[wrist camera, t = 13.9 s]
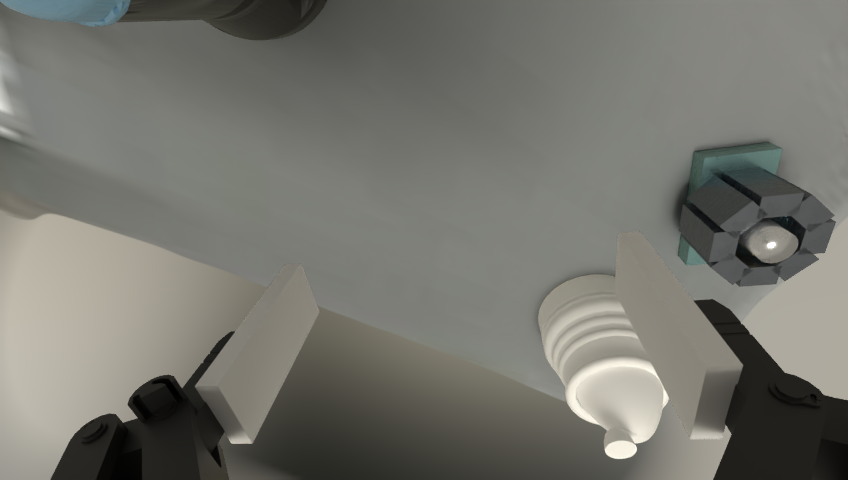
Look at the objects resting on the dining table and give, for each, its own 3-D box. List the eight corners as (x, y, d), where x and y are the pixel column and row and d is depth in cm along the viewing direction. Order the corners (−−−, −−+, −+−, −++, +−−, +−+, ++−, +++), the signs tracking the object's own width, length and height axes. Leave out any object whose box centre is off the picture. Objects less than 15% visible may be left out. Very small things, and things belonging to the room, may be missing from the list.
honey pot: (527, 345, 53) (549, 481, 38) (552, 266, 47) (592, 392, 31) (623, 360, 53) (686, 504, 37) (663, 282, 46) (758, 418, 31)
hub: (687, 175, 38) (721, 201, 33) (794, 163, 36) (848, 188, 31) (675, 255, 42) (703, 289, 37) (770, 247, 41) (814, 281, 36)
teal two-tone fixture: (694, 151, 39) (750, 186, 31) (768, 142, 38) (845, 176, 30) (678, 255, 44) (721, 306, 37) (741, 250, 43) (800, 302, 36)
